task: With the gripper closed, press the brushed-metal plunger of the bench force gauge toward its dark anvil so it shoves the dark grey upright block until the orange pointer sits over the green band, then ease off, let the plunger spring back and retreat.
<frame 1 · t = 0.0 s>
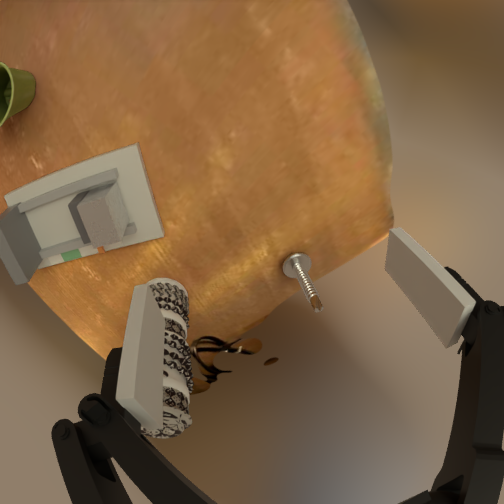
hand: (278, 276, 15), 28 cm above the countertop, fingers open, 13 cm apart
screw: (293, 258, 50), on the countertop
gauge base: (79, 210, 39), on the countertop
decorative candle: (164, 296, 50), on the countertop
plant pot: (21, 91, 27), on the countertop
plunger: (104, 213, 35), point 5 cm above the countertop, slide at 0.0 cm
dark grey upright block: (90, 226, 37), point 4 cm above the countertop, slide at 0.0 cm
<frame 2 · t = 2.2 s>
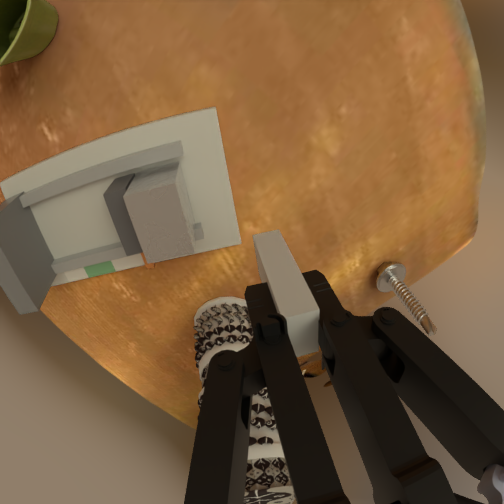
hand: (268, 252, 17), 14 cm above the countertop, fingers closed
screw: (383, 268, 39), on the countertop
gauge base: (113, 204, 28), on the countertop
decorative candle: (225, 319, 39), on the countertop
plant pot: (34, 31, 16), on the countertop
plunger: (163, 209, 24), point 5 cm above the countertop, slide at 0.0 cm
dark grey upright block: (135, 228, 26), point 4 cm above the countertop, slide at 0.0 cm
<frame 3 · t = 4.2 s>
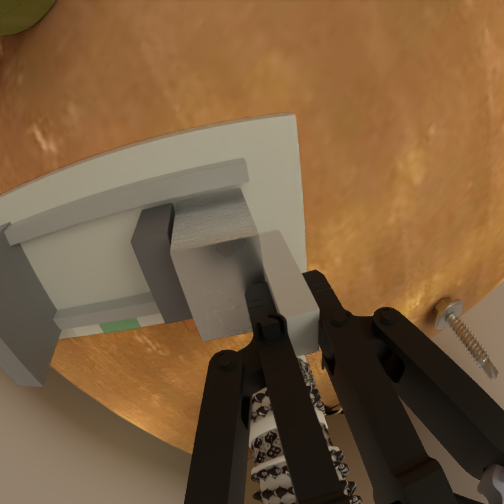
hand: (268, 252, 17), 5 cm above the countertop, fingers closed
screw: (439, 304, 32), on the countertop
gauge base: (136, 241, 21), on the countertop
decorative candle: (269, 368, 32), on the countertop
plunger: (221, 261, 17), point 5 cm above the countertop, slide at 0.0 cm, touching gripper
dark grey upright block: (174, 283, 19), point 4 cm above the countertop, slide at 0.0 cm
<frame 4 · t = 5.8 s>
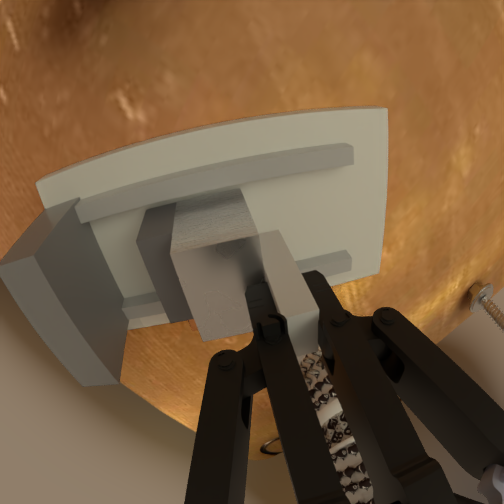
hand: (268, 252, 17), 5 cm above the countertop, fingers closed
screw: (472, 288, 33), on the countertop
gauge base: (226, 221, 21), on the countertop
decorative candle: (327, 353, 32), on the countertop
plunger: (221, 261, 17), point 5 cm above the countertop, slide at 6.8 cm, touching gripper, dark grey upright block
dark grey upright block: (179, 282, 19), point 4 cm above the countertop, slide at 6.5 cm, touching plunger
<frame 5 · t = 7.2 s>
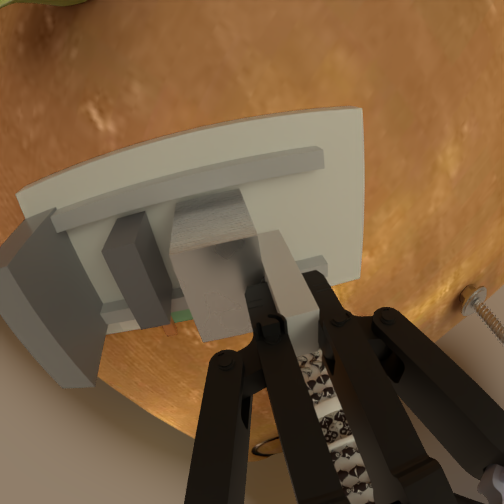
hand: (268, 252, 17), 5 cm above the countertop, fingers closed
screw: (465, 291, 32), on the countertop
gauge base: (198, 228, 21), on the countertop
decorative candle: (312, 357, 32), on the countertop
plunger: (221, 262, 17), point 5 cm above the countertop, slide at 4.7 cm, touching gripper
dark grey upright block: (150, 289, 18), point 4 cm above the countertop, slide at 6.5 cm
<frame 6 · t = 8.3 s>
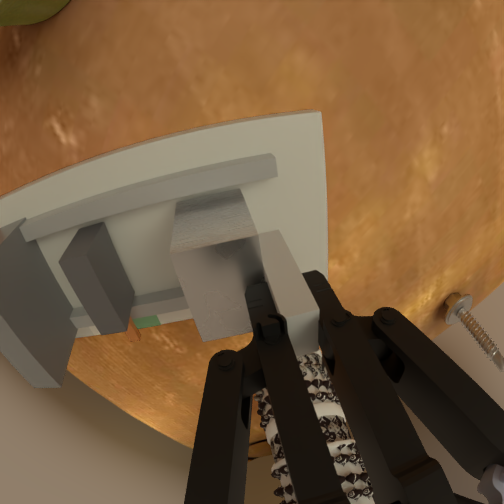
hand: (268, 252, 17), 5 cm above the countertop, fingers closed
screw: (449, 299, 32), on the countertop
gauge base: (158, 237, 21), on the countertop
decorative candle: (285, 365, 32), on the countertop
plunger: (221, 261, 17), point 5 cm above the countertop, slide at 1.7 cm, touching gripper
dark grey upright block: (110, 297, 18), point 4 cm above the countertop, slide at 6.5 cm
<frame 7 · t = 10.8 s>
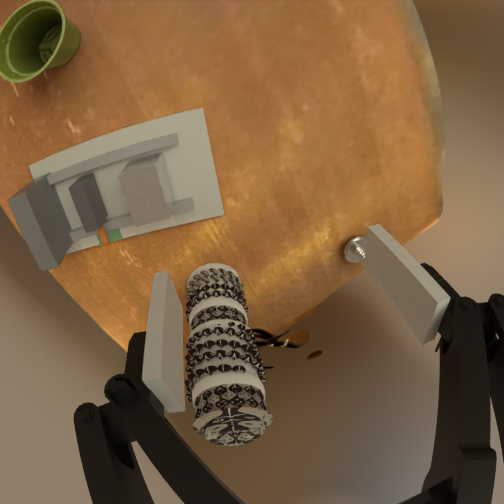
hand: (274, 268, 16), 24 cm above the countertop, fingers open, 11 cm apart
screw: (352, 242, 46), on the countertop
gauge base: (123, 183, 35), on the countertop
decorative candle: (213, 284, 46), on the countertop
plant pot: (60, 45, 23), on the countertop
plunger: (148, 187, 31), point 5 cm above the countertop, slide at 1.7 cm
dark grey upright block: (93, 213, 32), point 4 cm above the countertop, slide at 6.5 cm
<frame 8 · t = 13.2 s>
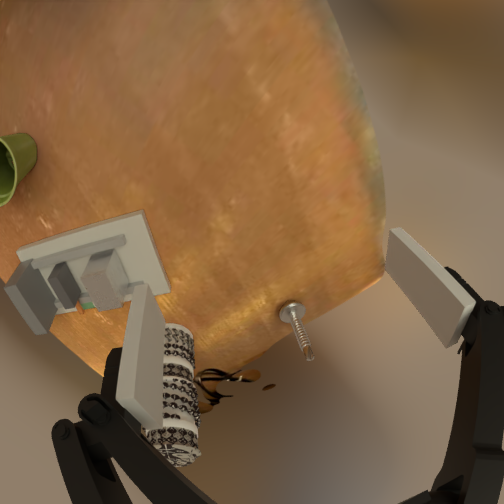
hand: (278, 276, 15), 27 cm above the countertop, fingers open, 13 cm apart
screw: (289, 304, 54), on the countertop
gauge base: (90, 267, 43), on the countertop
decorative candle: (171, 337, 54), on the countertop
plant pot: (22, 152, 31), on the countertop
plunger: (106, 280, 39), point 5 cm above the countertop, slide at 1.7 cm
dark grey upright block: (69, 293, 40), point 4 cm above the countertop, slide at 6.5 cm
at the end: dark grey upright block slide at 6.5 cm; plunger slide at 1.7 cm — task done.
